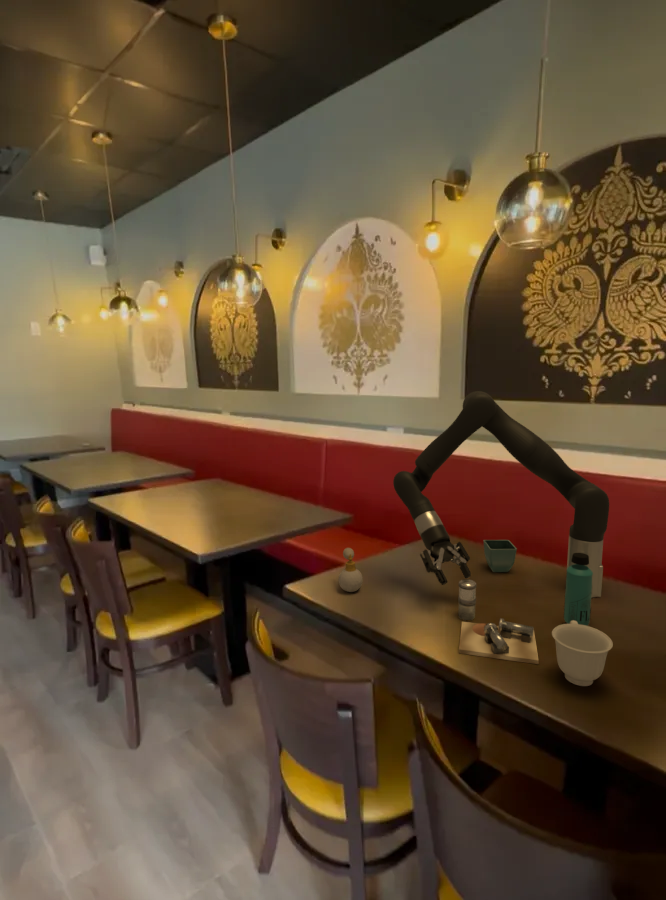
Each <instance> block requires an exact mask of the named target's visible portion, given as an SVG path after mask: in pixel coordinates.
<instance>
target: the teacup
mask: <svg viewBox="0 0 666 900" xmlns="http://www.w3.org/2000/svg"><path fill="white" fill-rule="evenodd" d="M551 636H552V638H553V639H554V642H555V652H556V661H557V664H558V667H559V669H560V670H561V671H562V672H563V673H564V677H565V679H566V680H567V681H568V682H569V683H572V684H573V685H576V686H580V687H588V686H592V684H593V683H594V681H595V680H597V679H598V678H600V677H601V675H602V673H603V672H604V669H605V664H606V660H607V655H608V653H609V651H610V650H611V649H613V645H614V644H613V643H614V642H613V640H612V639H611V638H610V636H609V635H607V634H606V633H605V632H603V631H602V630H599V629H597V628H596V627H595V628H594V627H592V626H590V625H588V626H586V625H580V624H578V623H577V621H574V620H573V621H571V622H570V624H568V623H563V624H562V623H561V624H559V625H556V626H555V627H554V628H553V629H552V631H551Z"/></svg>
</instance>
